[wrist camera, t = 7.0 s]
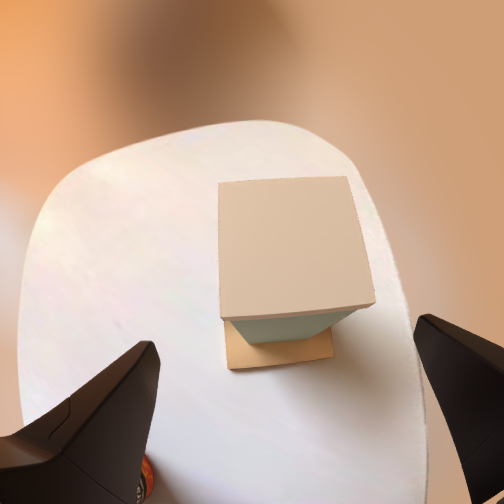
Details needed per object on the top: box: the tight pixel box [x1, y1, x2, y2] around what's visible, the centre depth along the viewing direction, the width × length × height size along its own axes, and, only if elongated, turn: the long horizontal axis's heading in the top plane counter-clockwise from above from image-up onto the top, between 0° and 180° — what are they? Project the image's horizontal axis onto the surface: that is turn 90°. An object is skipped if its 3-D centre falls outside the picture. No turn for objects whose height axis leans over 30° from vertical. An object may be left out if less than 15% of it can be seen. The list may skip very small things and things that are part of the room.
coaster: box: [224, 321, 334, 369], centre depth 21 cm, size 8×8×1 cm
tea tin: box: [218, 176, 376, 344], centre depth 15 cm, size 5×5×13 cm
